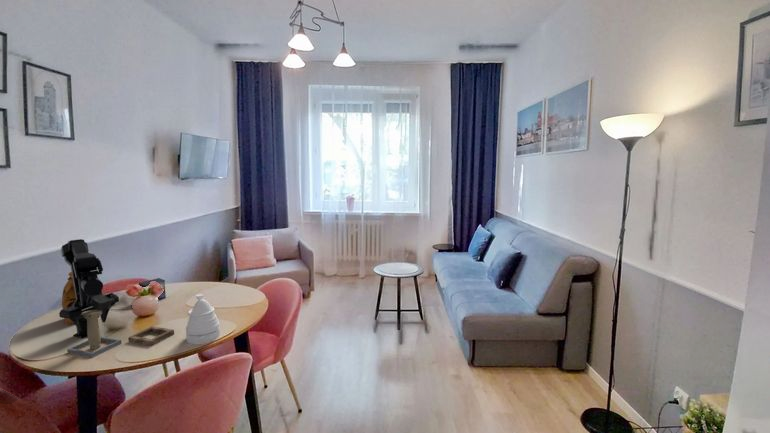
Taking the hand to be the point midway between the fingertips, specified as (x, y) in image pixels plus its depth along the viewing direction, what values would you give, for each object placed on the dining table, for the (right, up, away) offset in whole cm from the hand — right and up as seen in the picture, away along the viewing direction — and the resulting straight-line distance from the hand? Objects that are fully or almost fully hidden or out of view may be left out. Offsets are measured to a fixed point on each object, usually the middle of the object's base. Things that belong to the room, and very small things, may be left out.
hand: (93, 326), depth 143 cm
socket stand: (+17, -8, +10) cm, 21 cm away
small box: (-10, -2, +53) cm, 54 cm away
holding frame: (0, -9, +1) cm, 9 cm away
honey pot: (+38, -8, +11) cm, 41 cm away
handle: (0, -9, +1) cm, 9 cm away
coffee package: (-30, -5, +28) cm, 41 cm away
